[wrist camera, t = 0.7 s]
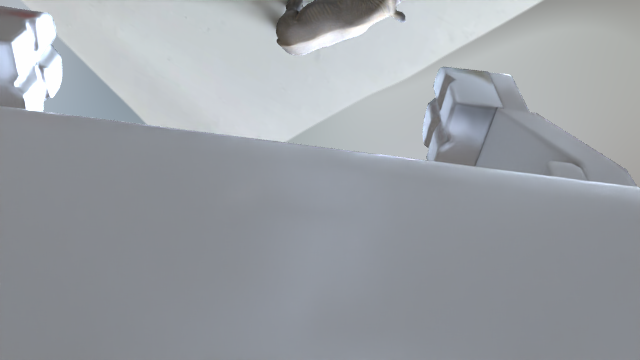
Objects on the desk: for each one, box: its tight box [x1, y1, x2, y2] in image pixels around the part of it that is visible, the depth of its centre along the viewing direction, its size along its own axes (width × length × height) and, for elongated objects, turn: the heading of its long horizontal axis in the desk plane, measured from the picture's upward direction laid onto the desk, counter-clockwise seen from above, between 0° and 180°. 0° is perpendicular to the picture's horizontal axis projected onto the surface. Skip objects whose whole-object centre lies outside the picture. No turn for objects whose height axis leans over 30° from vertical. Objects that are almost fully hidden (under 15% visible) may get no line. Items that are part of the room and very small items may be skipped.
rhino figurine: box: [276, 0, 405, 55], centre depth 49 cm, size 4×14×6 cm, turn 110°
